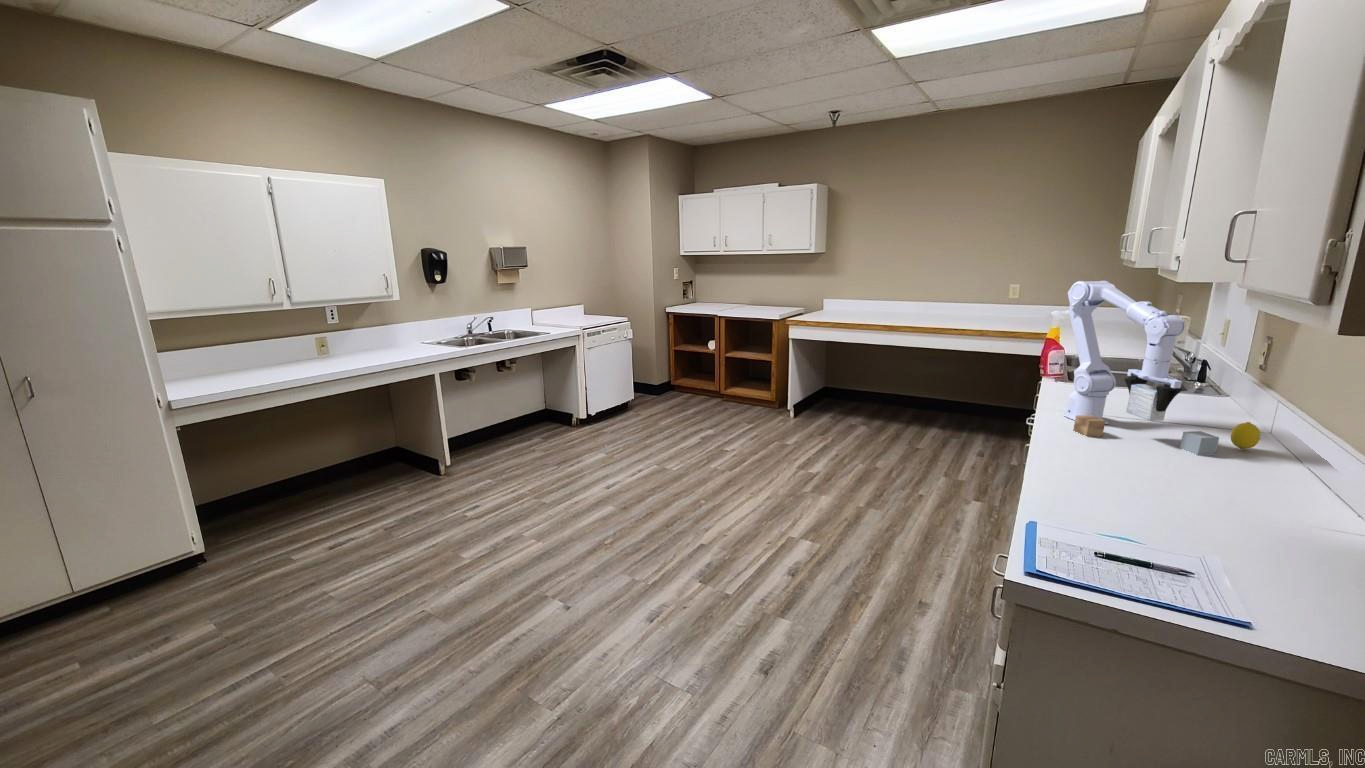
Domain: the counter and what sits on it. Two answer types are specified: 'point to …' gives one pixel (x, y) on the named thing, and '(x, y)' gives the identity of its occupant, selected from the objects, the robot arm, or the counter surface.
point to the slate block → (1199, 443)
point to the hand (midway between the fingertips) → (1147, 406)
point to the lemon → (1245, 435)
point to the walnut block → (1089, 425)
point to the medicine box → (1144, 402)
